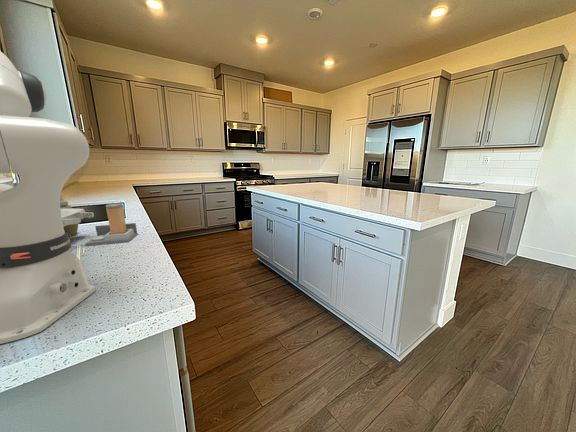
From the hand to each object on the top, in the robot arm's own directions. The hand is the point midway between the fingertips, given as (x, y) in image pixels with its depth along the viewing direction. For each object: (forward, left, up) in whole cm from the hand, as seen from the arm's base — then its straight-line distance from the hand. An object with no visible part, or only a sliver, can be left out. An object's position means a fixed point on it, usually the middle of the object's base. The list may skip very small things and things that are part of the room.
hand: (86, 217), depth 90 cm
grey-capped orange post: (0, -10, -8) cm, 13 cm away
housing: (0, -7, -9) cm, 12 cm away
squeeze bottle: (+13, +14, -10) cm, 21 cm away
